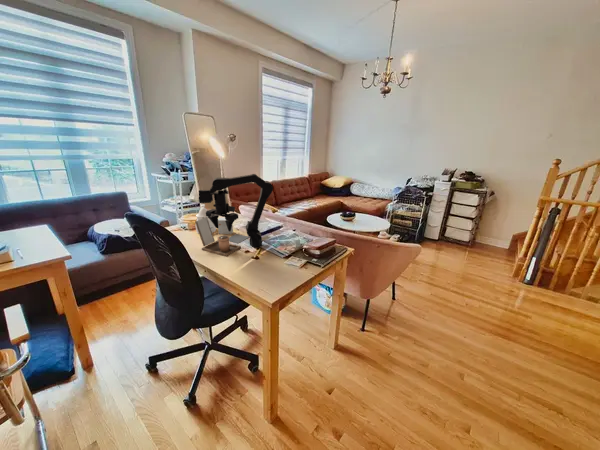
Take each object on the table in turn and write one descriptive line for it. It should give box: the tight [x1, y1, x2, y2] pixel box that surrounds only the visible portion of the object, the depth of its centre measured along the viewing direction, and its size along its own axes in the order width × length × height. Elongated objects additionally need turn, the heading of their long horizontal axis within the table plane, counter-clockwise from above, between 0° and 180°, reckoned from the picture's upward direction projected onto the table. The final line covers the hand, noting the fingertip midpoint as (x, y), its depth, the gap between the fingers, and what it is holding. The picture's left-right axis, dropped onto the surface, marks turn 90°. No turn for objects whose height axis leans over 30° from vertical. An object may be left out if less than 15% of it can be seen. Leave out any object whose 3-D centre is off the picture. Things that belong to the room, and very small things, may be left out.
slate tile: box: [229, 233, 250, 244], centre depth 152 cm, size 11×11×1 cm
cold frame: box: [201, 217, 241, 257], centre depth 137 cm, size 24×12×17 cm, turn 63°
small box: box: [217, 217, 234, 235], centre depth 161 cm, size 8×6×10 cm
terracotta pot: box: [217, 234, 231, 252], centre depth 136 cm, size 6×6×8 cm
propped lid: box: [194, 217, 216, 247], centre depth 140 cm, size 15×8×1 cm
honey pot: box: [195, 203, 217, 235], centre depth 165 cm, size 13×13×18 cm
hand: (223, 229), depth 134 cm, fingers open, 9 cm apart
